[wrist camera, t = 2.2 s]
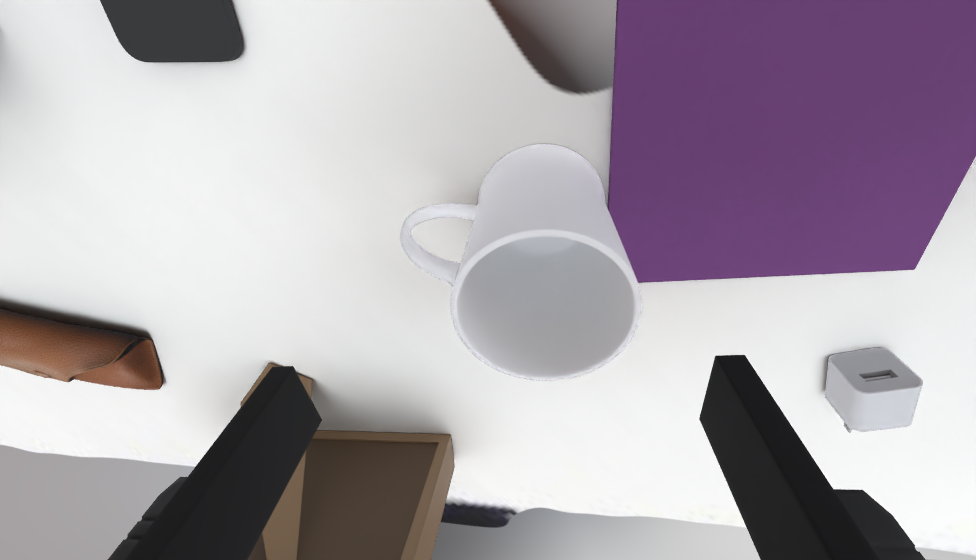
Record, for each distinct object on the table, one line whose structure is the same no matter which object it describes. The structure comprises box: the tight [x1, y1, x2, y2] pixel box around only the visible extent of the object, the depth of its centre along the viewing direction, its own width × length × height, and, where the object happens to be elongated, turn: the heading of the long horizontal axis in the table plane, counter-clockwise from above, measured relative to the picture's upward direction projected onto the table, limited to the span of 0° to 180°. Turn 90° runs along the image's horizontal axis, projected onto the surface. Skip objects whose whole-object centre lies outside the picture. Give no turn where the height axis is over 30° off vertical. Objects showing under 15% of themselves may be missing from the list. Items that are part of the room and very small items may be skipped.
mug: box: [400, 144, 642, 381], centre depth 21 cm, size 12×8×12 cm
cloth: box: [608, 0, 976, 283], centre depth 22 cm, size 20×20×1 cm
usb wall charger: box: [825, 348, 923, 433], centre depth 30 cm, size 4×7×4 cm, turn 20°
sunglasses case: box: [0, 309, 163, 390], centre depth 38 cm, size 18×7×7 cm, turn 79°
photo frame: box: [241, 363, 455, 560], centre depth 31 cm, size 15×22×25 cm
